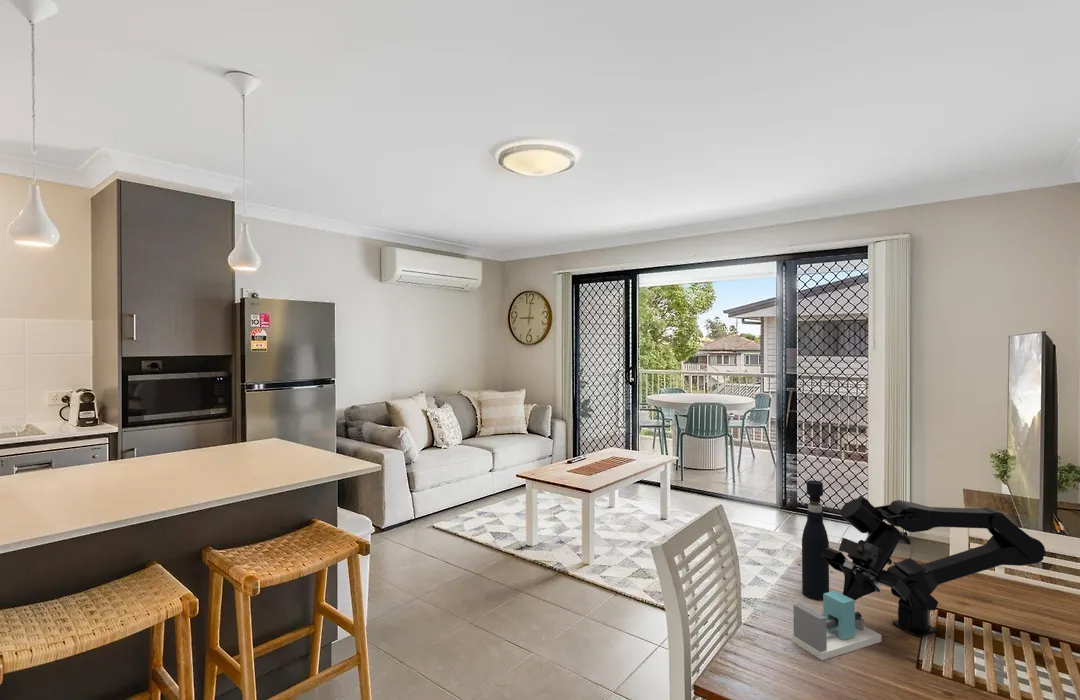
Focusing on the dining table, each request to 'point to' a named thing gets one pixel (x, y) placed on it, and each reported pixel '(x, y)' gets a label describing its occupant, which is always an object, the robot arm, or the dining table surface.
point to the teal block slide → (828, 634)
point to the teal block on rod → (840, 612)
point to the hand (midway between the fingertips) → (844, 602)
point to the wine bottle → (814, 547)
